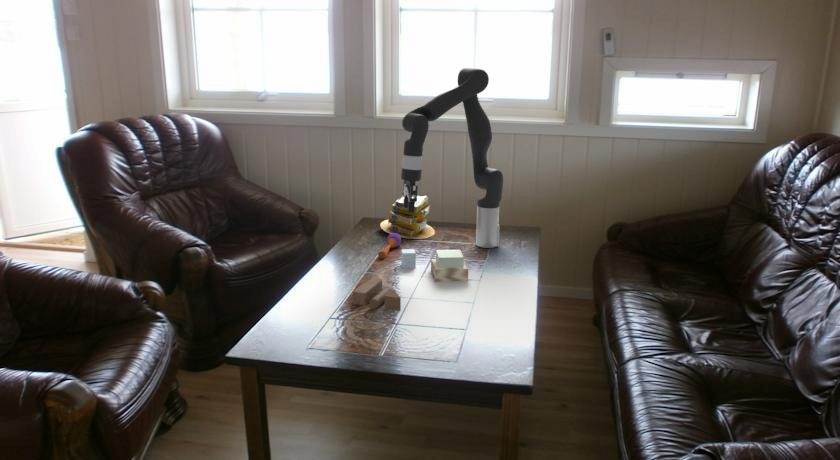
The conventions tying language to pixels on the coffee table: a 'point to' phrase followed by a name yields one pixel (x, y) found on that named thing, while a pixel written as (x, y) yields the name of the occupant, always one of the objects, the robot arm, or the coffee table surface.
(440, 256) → the tower top
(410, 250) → the blue block
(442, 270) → the tower base
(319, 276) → the coffee table surface
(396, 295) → the wooden block set
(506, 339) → the coffee table surface
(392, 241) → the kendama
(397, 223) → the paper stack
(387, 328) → the coffee table surface
